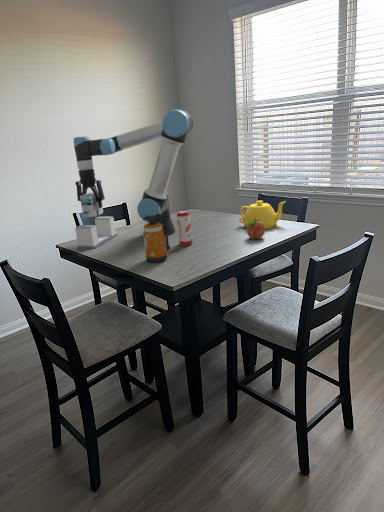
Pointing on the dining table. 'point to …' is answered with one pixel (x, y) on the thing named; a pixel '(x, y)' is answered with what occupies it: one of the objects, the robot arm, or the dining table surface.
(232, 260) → the dining table surface
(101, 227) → the white u-shaped holder
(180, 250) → the dining table surface
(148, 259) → the canister
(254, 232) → the fruit
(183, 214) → the beer can
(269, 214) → the teapot
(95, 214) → the light bulb box
